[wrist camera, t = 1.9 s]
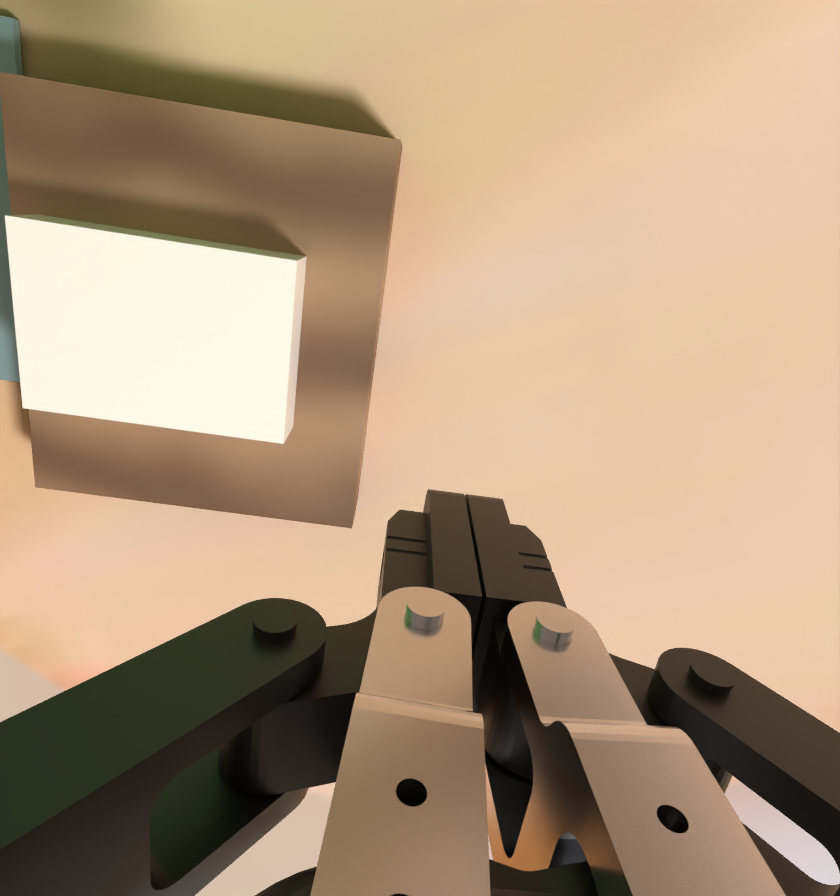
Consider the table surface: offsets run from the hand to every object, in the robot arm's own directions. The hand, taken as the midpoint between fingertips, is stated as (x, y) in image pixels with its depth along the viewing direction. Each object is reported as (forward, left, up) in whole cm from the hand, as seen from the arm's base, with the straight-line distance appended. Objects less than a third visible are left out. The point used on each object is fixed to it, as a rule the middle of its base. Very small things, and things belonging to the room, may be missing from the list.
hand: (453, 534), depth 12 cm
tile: (0, -10, -14) cm, 17 cm away
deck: (0, -9, -16) cm, 19 cm away
